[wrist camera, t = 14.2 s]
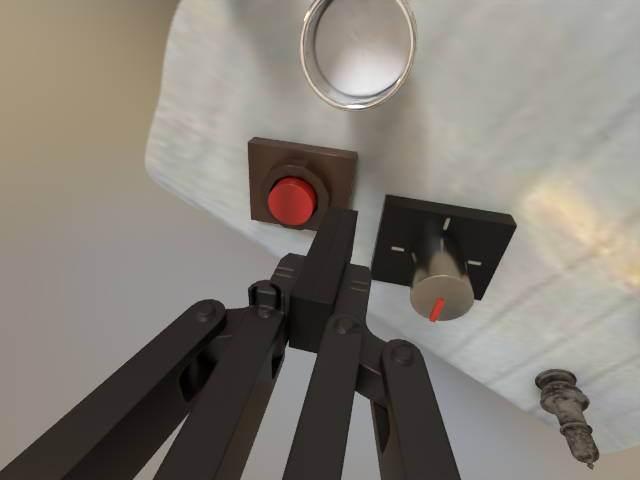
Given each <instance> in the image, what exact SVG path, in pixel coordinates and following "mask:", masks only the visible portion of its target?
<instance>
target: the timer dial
mask: <svg viewBox="0 0 640 480" xmlns="http://www.w3.org/2000/svg"><path fill="white" fill-rule="evenodd" d="M409 268H410V301H411V304H412V306H413V308H414V309H415V310H416V311H417V312H418V313H419V314H420V315H422V316H424V317H426V318H429V319H430V321H433V322H435V321H436V320H439V321H445V320H452V319H456V318H458V317H460V316H462V315H464V314H465V313H467V312H468V311H469V310H470V308H471V307H472V305H473V302H474V293H473V289H472V285H471V281H470V277H469V273H468V269H467V265H466V261H465V257H464V253H463V250H462V247H461V245H460V244H459V243H458V242H457V241H456V240H455V239H453V238H452V237H449V236H447V235H442V234H432V235H427V236H425V237H422V238H420V239H419V240H417V241H416V242H415V243H414V244H413V246H412V247H411V250H410V253H409Z"/></svg>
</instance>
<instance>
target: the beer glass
mask: <svg viewBox="0 0 640 480" xmlns="http://www.w3.org/2000/svg"><path fill="white" fill-rule="evenodd" d="M416 50H417V25H416V20H415V17H414V14H413V11H412V9H411V7H410V5H409V3H408V2H407V0H315V1H314V2H313V4H312V5H311V7H310V8H309V10H308V12H307V14H306V16H305V19H304V21H303V24H302V28H301V32H300V39H299V56H300V62H301V67H302V70H303V73H304V75H305V78H306V80H307V82H308V83H309V85H310V87H311V88H312V89H313V91H314V92H315V93H316V94H317V95H318V96H319V97H320V98H321V99H322V100H323V101H325V102H326V103H328V104H329V105H331V106H333V107H335V108H338V109H341V110H345V111H364V110H369V109H372V108H374V107H377V106H379V105H381V104H383V103H384V102H386V101H387V100H388V99H390V98H391V97H392V96H393V95H394V94H395V93H396V92H397V91H398V90H399V89H400V87H401V86H402V85H403V83H404V82H405V80H406V78H407V76H408V74H409V72H410V70H411V67H412V64H413V61H414V58H415V55H416Z"/></svg>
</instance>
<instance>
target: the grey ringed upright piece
mask: <svg viewBox="0 0 640 480" xmlns="http://www.w3.org/2000/svg"><path fill="white" fill-rule="evenodd" d="M576 382H577V381H576V377H575V376H574V375H573V374H572V373H570V372H568V371H565V370H558V369H555V370H548V371H545V372H542V373H540V374H539V375H538V376H537V377H536V379H535V384H536V385H537V387H538V388H540V389H541V390H542V392H541V401H540V404H541V406H542V408H543V409H544V410H545V411H547V412H549V413H551V414H555V415H556V416H557V418H558V421H559V423H560V426H561V427H560V433H561V434H562V435H564V436H565V437H566V440H567V442H568V445H569V448H570V450H571V453H572V455H573V456H574V458H576V459H577V460H578V461H581V462H584V463H587V464H588V465H587V466H588V467H589V468H591V469H593V467H594V465H593V464H592V463H593V462H595V461H596V460H598V459H599V451H598V449H597V447H596V444H595V442H594V440H593V438H592V436H591V433H592V428H591V427H590V426H589V425H587V423H586V421H585V418H584V416H583V413H582V412H583V411H584V410H586V409H587V408H588V406H589V404H590V403H589V399H588V397H587V396H586V395H584V394H583V393H582V391H581V390H580V389H578V388H577V387H576V386H575V384H576Z"/></svg>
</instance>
